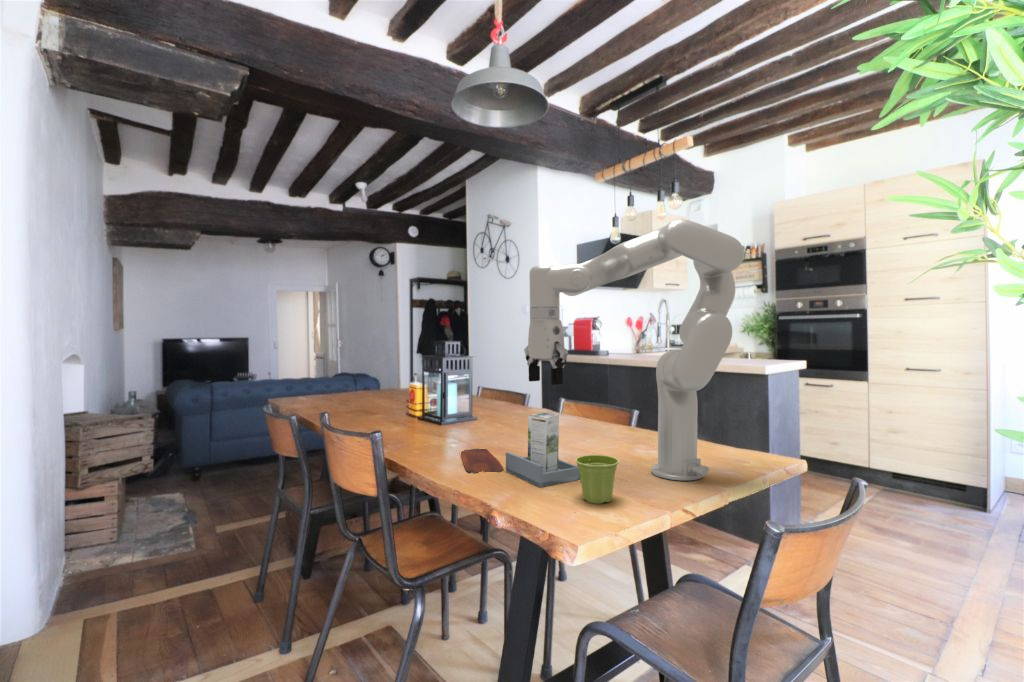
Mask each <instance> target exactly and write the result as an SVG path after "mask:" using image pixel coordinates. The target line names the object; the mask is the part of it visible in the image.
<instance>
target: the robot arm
mask: <svg viewBox="0 0 1024 682" xmlns="http://www.w3.org/2000/svg"><path fill="white" fill-rule="evenodd" d="M681 256H683V257H685V258H687V259H690V260H692V261H693V267H694V269H695V271H696V273H697V275H698V278H699V283H700V284H699V285H700V286H699V289H698V292H697V294H696V295H695V296H696V297H695V299H694V300H693V302H692V305H691V306H690V308H689V310H688V312H687V314H686V316H685V317H684V319H683V320H682V323H681V324H680V327H679V331H678V335H679V338H680V340H681V342H682V344H683V345H682V346H681V348H680V349H672V350H668V351H666V352H665V353H663V354H662V355H661V356H660V357H659V358H658V361H657V364H656V369H655V379H656V385H657V397H658V398H657V400H658V401H657V402H658V405H657V406H658V407H657V410H658V411H657V464H654V465H652V466H651V473H652V474H653V475H654V476H656V477H659V478H662V479H666V480H671V481H681V482H682V481H696V480H700V479H702V478H703V477H705V476H707V474H708V472H709V471H710V468H709V466H705V465H702V464H701V462H702V460H701V458H699V457H698V414H699V413H698V412H699V411H698V410H699V409H698V407H699V405H698V403H699V402H698V393H697V391H699V390H701V389H703V388H704V387H706V386H707V385H708V384H709V382H710V381H711V379H712V377H713V376H714V375H715V373H716V371H717V369H718V367H719V365H720V363H721V361H722V359H723V357H724V355H725V354H726V352H727V350H728V348H729V346H730V344H731V341H732V338H733V327H732V323H731V320H730V319H729V318H728V316H727V315H728V313H729V311H730V309H731V306H732V304H733V302H734V300H735V297H736V283H735V279H734V278H735V277H734V275H733V271H735V270H736V269H738V268H739V267H740V266H741V265H742V263H743V262H744V259H745V249H744V247H743V245H742V243H741V242H740V241H739V239H737V238H735V237H734V236H732V235H730V234H727V233H724V232H722V231H719V230H716V229H714V228H711V227H709V226H706V225H703V224H701V223H698V222H695V221H692V220H690V219H683V218H681V219H679V218H678V219H674V220H672V221H670V222H669V223H667V224H666V225H664V226H662V227H660V228H657V229H655V230H652V231H649V232H647V233H644V234H642V235H639V236H637V237H635V238H632V239H629V240H627V241H623V242H621V243H619V244H617V245H615V246H614V247H612V248H610V249H609V250H607V251H606V252H604V253H603V254H600V255H598V256H596V257H593V258H592V259H590V260H587V261H585V262H582V263H569V264H563V265H547V264H546V265H543V264H542V265H534V266H532V267H531V268H530V270H529V325H528V326H529V328H528V340H527V341H528V342H527V346H526V347H525V348H524V350H523V351H524V356H525V360H526V361H527V363H526V364H527V366H528V382H539V381H540V380H541V368H540V367H541V366H540V365H539V364H540V361H549V362H550V365H551V367H552V368H550V384H551V385H552V386H557V385H563V383H564V375H563V373H564V371H563V370H564V368H565V364H566V362H567V359H568V354H569V351H568V349H567V348H566V347H565V338H564V337H565V336H564V328H563V322H562V320H561V318H560V316H561V315H560V313H561V311H560V307H561V305H560V293H563V294H564V295H566V296H569V297H576V296H578V295H581V294H583V293H586V292H588V291H591V290H593V289H596V288H599V287H602V286H604V285H607V284H609V283H613V282H615V281H618V280H619V281H620V280H623V279H626V278H629V277H631V276H634V275H636V274H639V273H642V272H644V271H646V270H649V269H651V268H654V267H656V266H659V265H662V264H665V263H667V262H670V261H672V260H675V259H678V258H679V257H681Z"/></svg>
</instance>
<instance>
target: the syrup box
mask: <svg viewBox="0 0 1024 682" xmlns="http://www.w3.org/2000/svg"><path fill="white" fill-rule="evenodd" d="M527 418H528V420H527V426H528V427H527V457H528V460H530V461H532V462H534V463H537V464H539V465H542V466H543V473H546V472H552V471H557V470H558V459H559V444H560V441H559V438H560V433H559V432H560V431H559V429H560V428H559V427H560V415H558V414H556V413H552V412H538V413H533V414H529V415H528V416H527Z"/></svg>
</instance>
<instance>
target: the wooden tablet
mask: <svg viewBox="0 0 1024 682" xmlns="http://www.w3.org/2000/svg"><path fill="white" fill-rule="evenodd" d="M487 449H488V448H486V449H479V448H471V449H470V450H468V449H463V450H464V451H462V452H461V456H460V458H461V459H462V463H463V465H464V469H465V471H466V473H468V474H470V473H473V474H480V473H479V472H481V473H486V472H497V473H502V471H503V472H504V467H503V465H502V464H501V462H500V460H498V459H497V458H496V457H494V456H495V455H494V454H493V453H492V452H491V451H490V450H489V449H488V450H489V451H490V452H491V453H492V454H493V455H494V456H493V455H492V454H491V453H490V452H489V451H488V450H487ZM482 471H483V472H482Z"/></svg>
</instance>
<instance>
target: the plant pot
mask: <svg viewBox="0 0 1024 682" xmlns="http://www.w3.org/2000/svg"><path fill="white" fill-rule="evenodd" d="M574 460H575V463H576V466H578V469H579V472H580V485H581V491H582V497H583V500H586V502H587V503H591V504H599V505H600V504H603V503H610V502H611V501H612V500H613V492H614V482H615V475H616V471H617V468H618V465H619V463H620V460H619V459H618V458H616V457H614V456H609V455H606V454H605V455H602V454H588V455H587V454H586V455H581V456H578V457H576V458H575V459H574Z"/></svg>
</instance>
